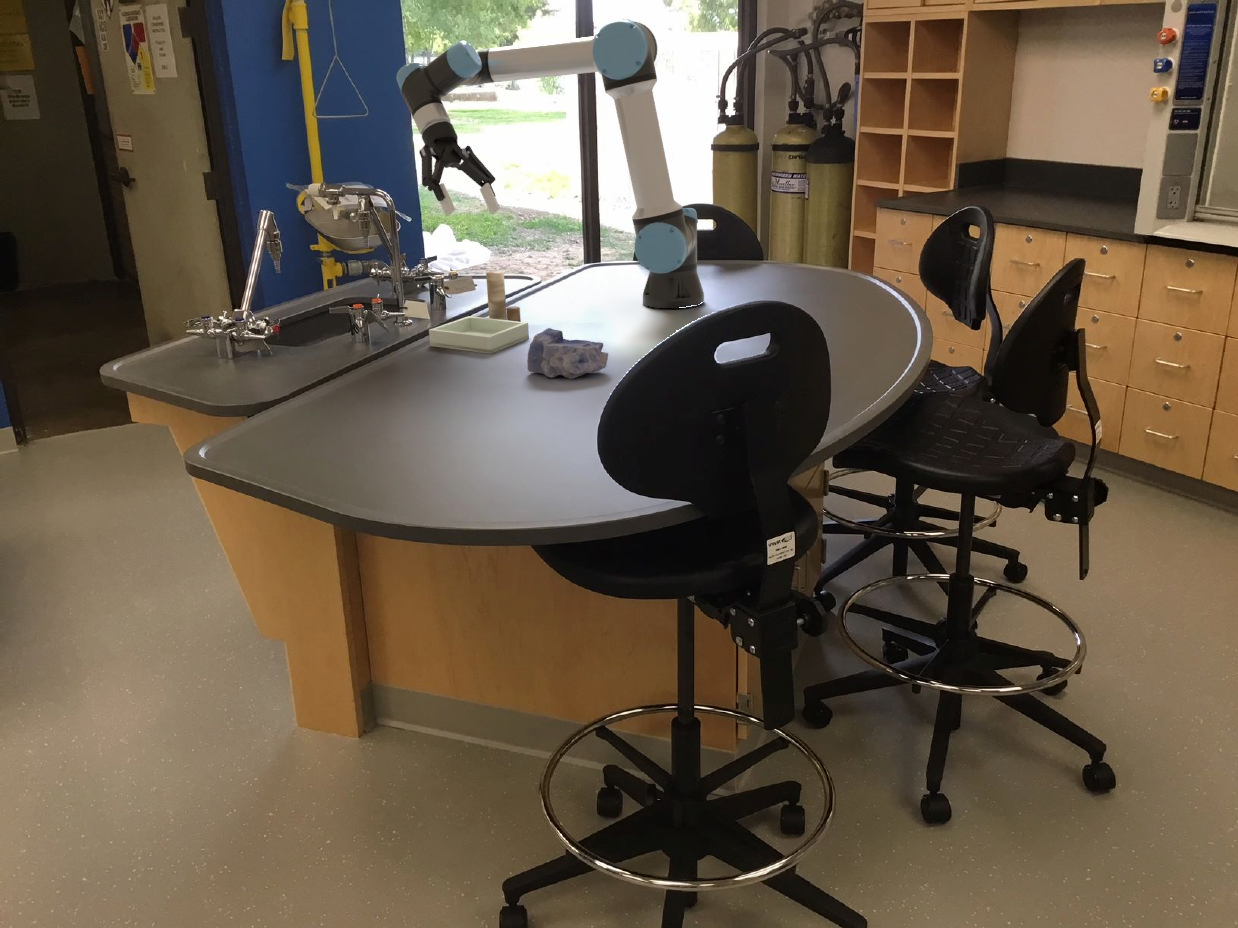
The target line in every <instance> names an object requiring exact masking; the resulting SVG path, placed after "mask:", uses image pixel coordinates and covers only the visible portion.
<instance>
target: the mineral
mask: <svg viewBox="0 0 1238 928" xmlns="http://www.w3.org/2000/svg"><path fill="white" fill-rule="evenodd" d="M603 347H604V343H603V342H600V341H599V342H597V341H590V340H586V339H584V340H583V339H566V338H564V335H563V331H562V330H560V329H559V330H558V329H553V328H551V327H549V328H546V329H545V330H543V331H541V332H539V333H536V334H535V335H534V336H533V339H532V341H531V342H530V344H529V348H528V352H527V366H526V367H527V372H529V373H534V374H535V373H536V374H543V375H544V376H546V377H548V378H556V377H557V376H563V377H564V378H566V379H569V380H573V379H575V378H578V377H580V376H583V375H585V374H587V373H592V374H593V373H597V372H599V371H601V370H603V369H606V367H607V362H608V358H609V353H608V352H605V351H603V352H602V350H603Z"/></svg>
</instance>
